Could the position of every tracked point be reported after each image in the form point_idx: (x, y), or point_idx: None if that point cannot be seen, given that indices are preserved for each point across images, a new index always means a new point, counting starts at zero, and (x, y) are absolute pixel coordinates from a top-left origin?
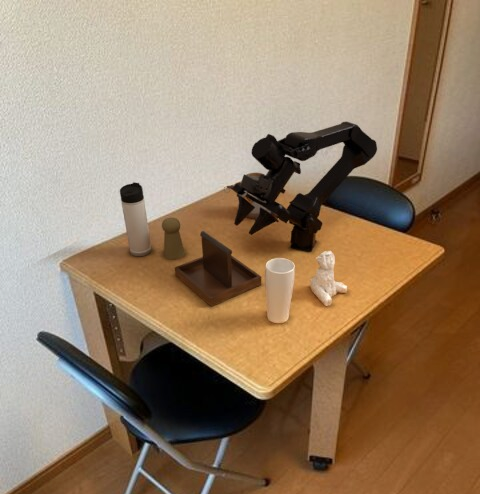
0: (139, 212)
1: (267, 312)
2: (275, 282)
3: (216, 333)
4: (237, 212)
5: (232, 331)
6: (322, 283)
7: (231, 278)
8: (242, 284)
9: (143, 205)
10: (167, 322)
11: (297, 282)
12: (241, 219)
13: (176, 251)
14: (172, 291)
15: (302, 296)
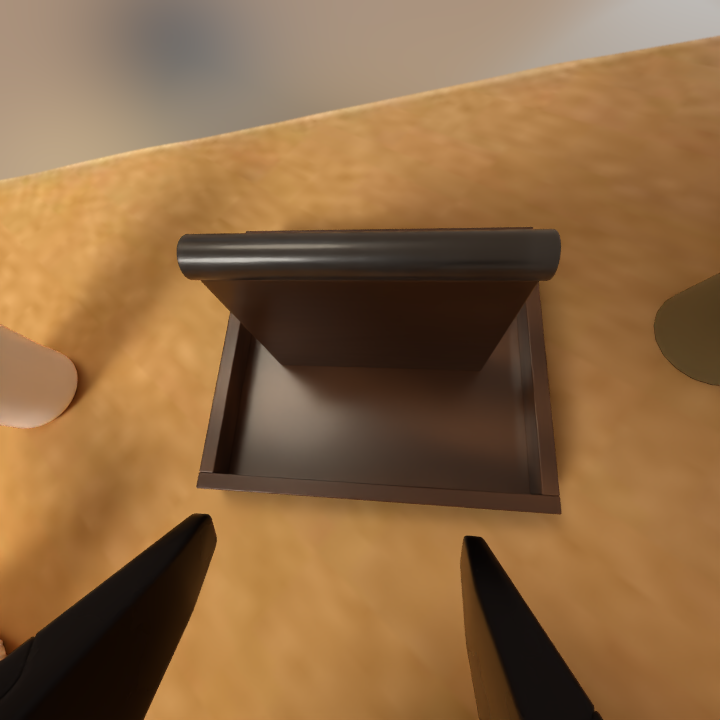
0: None
1: (45, 346)
2: None
3: (156, 205)
4: (569, 684)
5: (126, 242)
6: None
7: (267, 348)
8: (219, 375)
9: None
10: (297, 132)
11: None
12: (478, 669)
13: (685, 308)
14: (428, 203)
15: (32, 573)
